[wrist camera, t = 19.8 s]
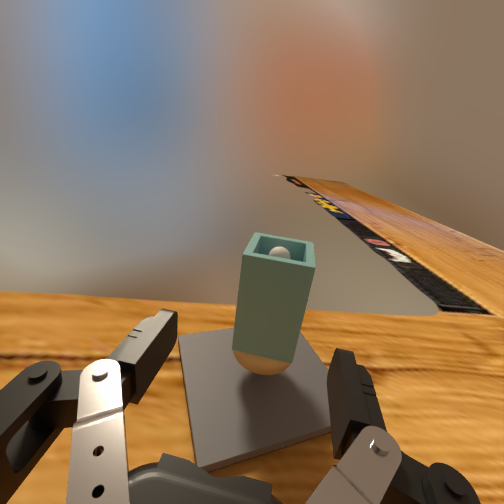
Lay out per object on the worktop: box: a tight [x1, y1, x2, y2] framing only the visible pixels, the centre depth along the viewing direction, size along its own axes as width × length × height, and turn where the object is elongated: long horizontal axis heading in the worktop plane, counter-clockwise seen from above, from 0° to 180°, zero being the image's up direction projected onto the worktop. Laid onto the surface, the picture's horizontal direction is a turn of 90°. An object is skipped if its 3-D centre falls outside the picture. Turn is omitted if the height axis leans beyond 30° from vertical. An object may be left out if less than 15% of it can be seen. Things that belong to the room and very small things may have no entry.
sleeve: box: [232, 232, 315, 364], centre depth 26 cm, size 6×6×10 cm
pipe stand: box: [178, 247, 331, 472], centre depth 27 cm, size 16×15×16 cm
